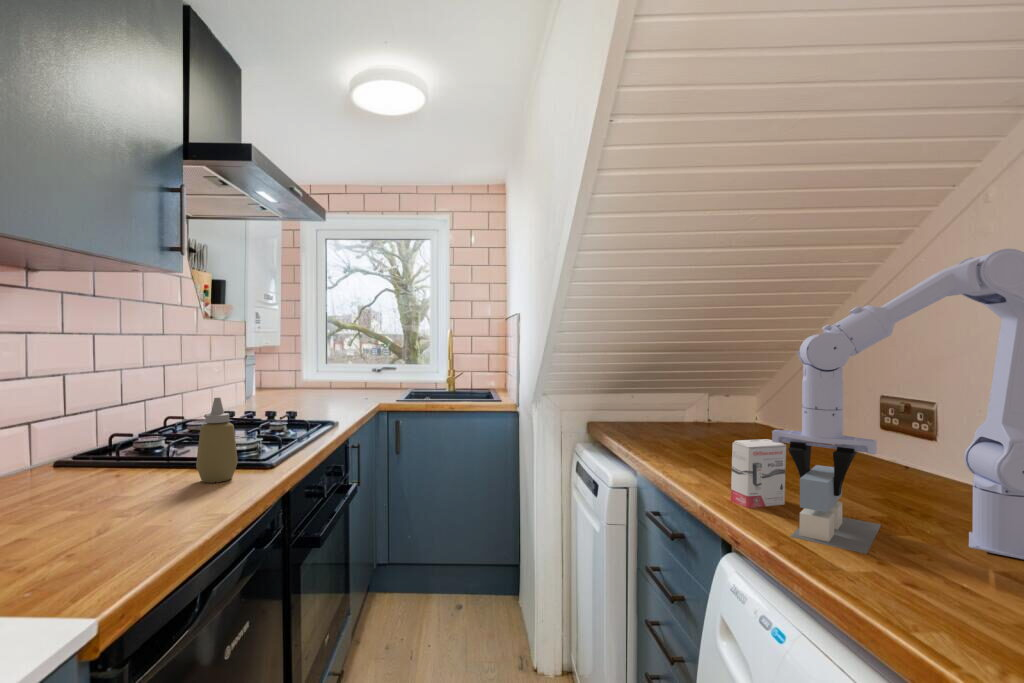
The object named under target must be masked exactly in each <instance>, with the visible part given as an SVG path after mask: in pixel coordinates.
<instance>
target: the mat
mask: <svg viewBox="0 0 1024 683" xmlns="http://www.w3.org/2000/svg"><path fill="white" fill-rule="evenodd" d="M881 527H882V524H879V523H875V522H870V521H864V520H859V519H853V518H848V517H843V516H842V524H841V526H840V527H839V528H838V529H834V535H833V537H832V538H831V540H830V541H829V542H827V541H823V540H818V539H814V538H809V537H805V536H800V535H799V533H800V525H799V527H797V528H796V530H794V532H792V533H791V535H790V536H789V537H790V538H793V539H798V540H803V541H806V542H811V543H814V544H815V543H816V544H821V545H825V546H830V547H834V548H839V549H841V550H846V551H852V552H856V553H860V554H865V555H867V554H868V552H869V551H870V549H871V546H872V545H873V543H874V540H875V538H876V536H877V534H878V532H879V531H880V528H881Z"/></svg>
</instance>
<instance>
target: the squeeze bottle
mask: <svg viewBox="0 0 1024 683" xmlns="http://www.w3.org/2000/svg"><path fill="white" fill-rule="evenodd" d="M204 420H205V421H204V422H205V423H204V424H203V425H201V426H200V428H199V437H198V446H197V447H198V448H197V454H196V464H195V467H196V470H197V473H198V474H199V477H200V480H201V482H203V483H208V484H209V483H211V484H213V483H215V482H216V483H223V482H227V481H230V480H231V479H233V476H234V474H235V472H236V469H237V465H238V463H239V462H238V461H239V460H238V451H237V444H236V443H237V442H236V433H235V425H234V424H233V423H231V422H230V413H229V412H226V413H225V411H224V407H223V402H222V398H221V397H214V398H213V402H212V407H211V411H210V413H209V414H205V417H204ZM222 481H223V482H222Z"/></svg>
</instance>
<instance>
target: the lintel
mask: <svg viewBox="0 0 1024 683" xmlns="http://www.w3.org/2000/svg"><path fill="white" fill-rule="evenodd" d="M842 495H843V488H842V489H841V494H840V495H839V496H834V466H827V465H819V464H815V465H814V466H813V467H812V468H810V471H808V472H807V473H806V474H805V475H804V476H802V477H801V478H800V477H799V508H801V509H804V508H806V509H811V510H816V511H822V512H827V513H828V512H829V511H830V509H831V508H832V507H833V506H834V504H835V503H836V502H837V501H838V500H840V498H841V497H842ZM838 502H839V501H838Z"/></svg>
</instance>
